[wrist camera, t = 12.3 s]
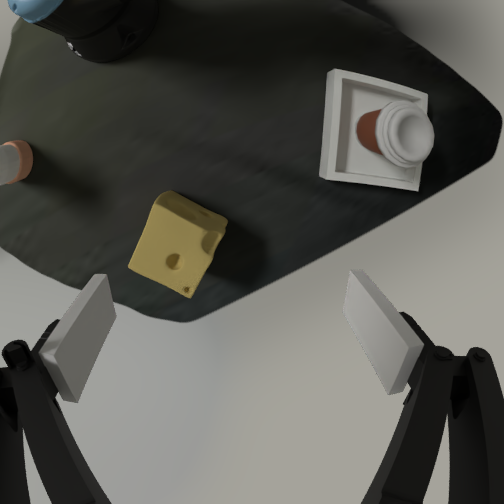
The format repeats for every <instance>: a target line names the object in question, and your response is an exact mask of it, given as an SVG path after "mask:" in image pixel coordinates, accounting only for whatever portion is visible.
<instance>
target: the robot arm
mask: <svg viewBox="0 0 504 504" xmlns="http://www.w3.org/2000/svg"><path fill="white" fill-rule="evenodd" d="M8 4H9V7H10V9H11V10H12V11H13V12H14V13H15V14H17V15H19V16H20V17H22V18H23V19H24V20H25V21H27V22H29V23H33V24H36V25H38V26H41V27H43V28H46V29H48V30H50V31H53V32H55V33H57V34H60V35H62V36H64V37H65V39H66V41H67V43H68V45H69V47H70V49H71V50H72V51H73V52H74V53H75V54H76V55H78V56H79V57H81V58H83V59H86V60H88V61H91V62H100V63H101V62H109V61H113V60H116V59H119V58H121V57H124V56H125V55H127V54H129V53H131V52H132V51H133V50H135V49H136V48H137V47H139V46H140V45H141V44H142V43H143V42H144V41H145V40H146V38H147V37H148V36H149V34H150V33H151V31H152V30H153V28H154V26H155V23H156V21H157V17H158V3H157V0H8ZM343 314H344V316H345V318H346V319H347V321H348V323H349V325H350V326H351V328H352V330H353V332H354V333H355V335H356V337H357V339H358V340H359V342H360V344H361V346H362V348H363V349H364V351H365V353H366V355H367V357H368V358H369V360H370V362H371V364H372V366H373V368H374V369H375V371H376V373H377V375H378V377H379V379H380V381H381V382H382V384H383V386H384V388H385V390H386V392H387V394H388V395H391V394H395V393H399V392H402V391H403V390H404V388H405V386H406V384H407V382H408V384H409V386H410V387H411V389H410V391H409V393H408V395H407V397H406V399H405V401H404V403H403V405H404V408H403V411H402V413H401V416H400V419H399V422H398V424H397V427H396V430H395V432H394V435H393V437H392V440H391V442H390V444H389V447H388V449H387V451H386V454H385V456H384V458H383V460H382V463H381V465H380V467H379V469H378V471H377V473H376V475H375V477H374V479H373V481H372V484H371V485H370V487H369V489H368V491H367V494H366V495H365V497H364V499H363V501H362V502H361V504H423V499H424V496H425V493H426V491H427V488H428V485H429V482H430V479H431V476H432V472H433V469H434V465H435V462H436V459H437V455H438V451H439V447H440V444H441V440H442V435H443V431H444V427H445V422H446V417H447V415H448V428H449V450H450V480H449V502H448V504H504V398H503V394H502V391H501V387H500V383H499V380H498V377H497V373H496V370H495V367H494V364H493V361H492V358H491V356H490V354H489V353H488V352H487V351H486V350H484V349H482V348H479V347H473V348H471V349H470V350H469V351H468V353H467V355H466V356H454V354H452V352H451V351H450V350H449V349H447V348H445V347H442V346H435V345H434V343H433V342H432V341H431V340H430V338H429V337H428V336H427V335H426V334H425V332H424V331H423V330H421V327H420V326H419V325H417V323H416V321H415V320H414V319H413V318H412V317H411V316H409V315H408V314H406V313H404V312H398V311H397V310H396V308H395V307H394V306H393V305H392V304H391V302H390V301H389V300H388V299H387V298H386V296H385V295H384V294H383V293H382V292H381V291H380V289H379V288H378V287H377V286H376V285H375V283H374V282H373V281H372V280H371V279H370V278H369V276H368V275H367V274H366V273H365V272H364V271H363V270H350V274H349V280H348V286H347V291H346V297H345V301H344V307H343ZM115 319H116V313H115V309H114V305H113V300H112V296H111V292H110V287H109V282H108V278H107V274H94V276H93V277H92V278H91V279H90V281H89V282H88V283H87V285H86V286H85V287H84V289H83V290H82V291H81V292H80V294H79V295H78V297H77V298H76V299H75V301H74V302H73V303H72V305H71V306H70V307H69V309H68V310H67V312H66V313H65V314H64V316H63V317H62V319H61V320H58V319H57V320H55V321H54V322H52V323H51V324H50V325H49V326H48V327H47V329H46V330H45V332H44V333H43V334H42V336H41V339H39V340H38V342H37V343H36V345H35V346H34V348H33V349H32V351H30V349H29V347H28V345H27V343H26V342H25V341H23V340H15V341H12V342H10V343H8V344H7V345H6V346H5V347H4V349H3V350H2V356H3V358H4V360H5V362H6V364H7V366H8V367H3V368H0V504H30V497H29V491H28V485H27V478H26V469H25V459H24V447H23V429H24V433H25V436H26V439H27V442H28V445H29V448H30V451H31V454H32V457H33V459H34V463H35V465H36V468H37V470H38V473H39V475H40V478H41V480H42V483H43V485H44V487H45V489H46V492H47V494H48V496H49V498H50V501H51V503H52V504H111V502H110V501H109V499H108V498H107V496H106V494H105V493H104V491H103V490H102V488H101V487H100V485H99V483H98V482H97V480H96V478H95V477H94V475H93V473H92V472H91V470H90V468H89V466H88V464H87V463H86V461H85V459H84V457H83V455H82V453H81V451H80V449H79V448H78V446H77V444H76V442H75V440H74V438H73V436H72V434H71V431H70V429H69V427H68V425H67V423H66V420H65V418H64V416H63V414H62V411H61V409H60V406H59V404H58V402H57V400H56V398H55V397H56V395H57V393H58V392H59V394H60V395H61V397H62V399H63V400H65V401H69V402H75V403H78V401H79V398H80V396H81V394H82V391H83V389H84V386H85V384H86V382H87V379H88V377H89V375H90V372H91V370H92V368H93V365H94V363H95V361H96V359H97V356H98V354H99V352H100V350H101V348H102V346H103V343H104V341H105V339H106V337H107V335H108V333H109V331H110V329H111V327H112V325H113V323H114V321H115Z"/></svg>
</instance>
